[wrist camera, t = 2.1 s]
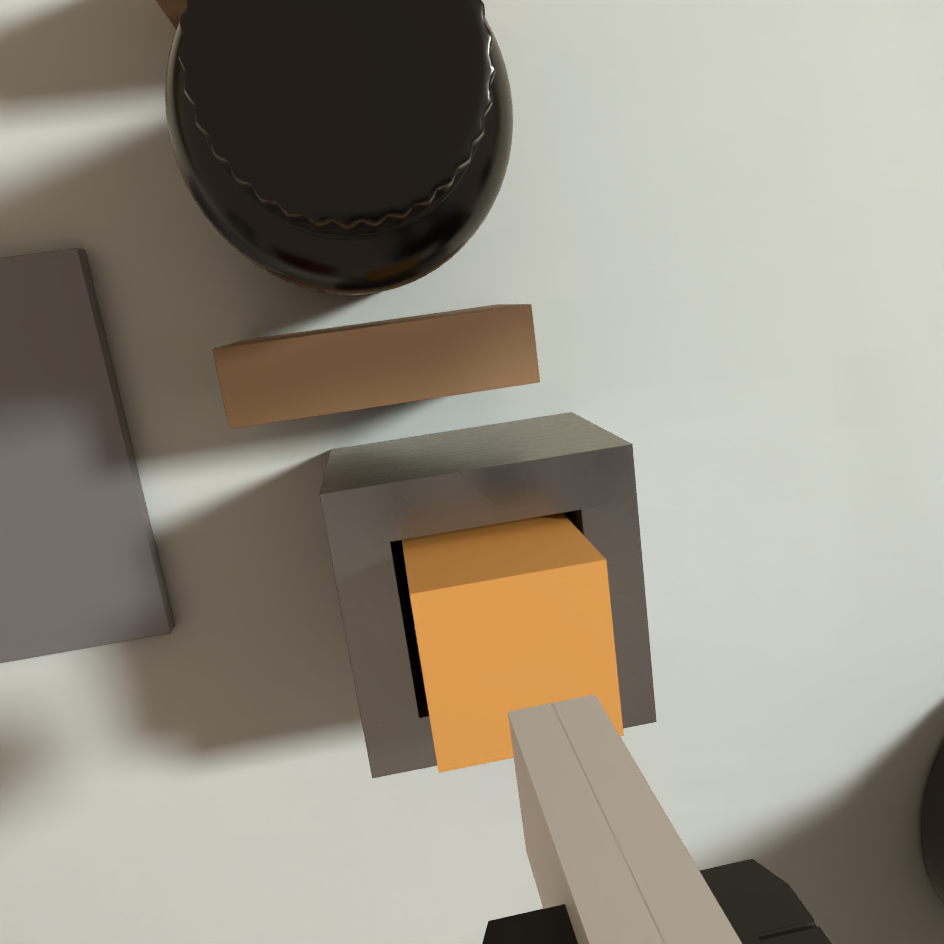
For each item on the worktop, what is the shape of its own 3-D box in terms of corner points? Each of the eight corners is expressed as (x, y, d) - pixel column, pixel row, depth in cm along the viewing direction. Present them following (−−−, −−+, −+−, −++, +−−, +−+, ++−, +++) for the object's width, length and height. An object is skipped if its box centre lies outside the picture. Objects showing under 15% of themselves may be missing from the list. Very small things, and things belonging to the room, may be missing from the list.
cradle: (506, 366, 25) (539, 382, 20) (256, 403, 24) (229, 428, 19) (453, -63, 22) (477, -167, 17) (169, -38, 21) (110, -139, 16)
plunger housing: (594, 632, 27) (656, 721, 21) (371, 674, 26) (372, 778, 21) (571, 412, 25) (632, 443, 20) (330, 449, 25) (319, 494, 19)
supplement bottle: (235, 291, 23) (103, 278, 12) (231, 46, 22) (76, -247, 10) (459, 302, 24) (543, 301, 13) (469, 68, 23) (575, -177, 11)
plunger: (560, 630, 24) (623, 735, 18) (420, 656, 23) (438, 772, 18) (545, 494, 23) (606, 559, 17) (398, 518, 22) (409, 594, 17)
